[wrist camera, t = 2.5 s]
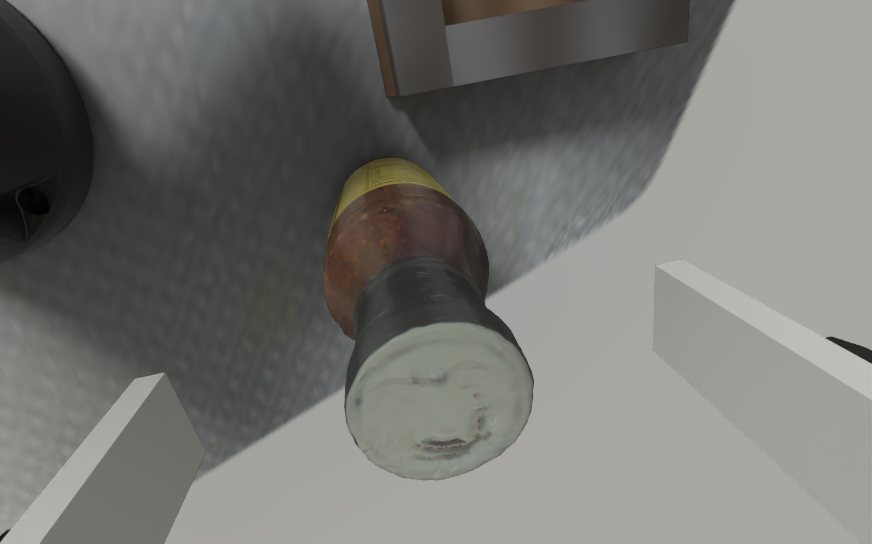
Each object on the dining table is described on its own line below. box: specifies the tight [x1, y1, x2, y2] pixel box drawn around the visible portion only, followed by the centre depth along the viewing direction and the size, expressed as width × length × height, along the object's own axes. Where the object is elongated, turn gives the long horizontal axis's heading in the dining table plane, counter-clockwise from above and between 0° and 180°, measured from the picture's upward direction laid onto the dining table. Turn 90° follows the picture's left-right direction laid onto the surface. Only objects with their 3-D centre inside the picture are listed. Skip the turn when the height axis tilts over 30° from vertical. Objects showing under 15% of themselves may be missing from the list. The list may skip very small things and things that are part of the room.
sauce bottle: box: [323, 158, 534, 480], centre depth 18 cm, size 7×6×20 cm
